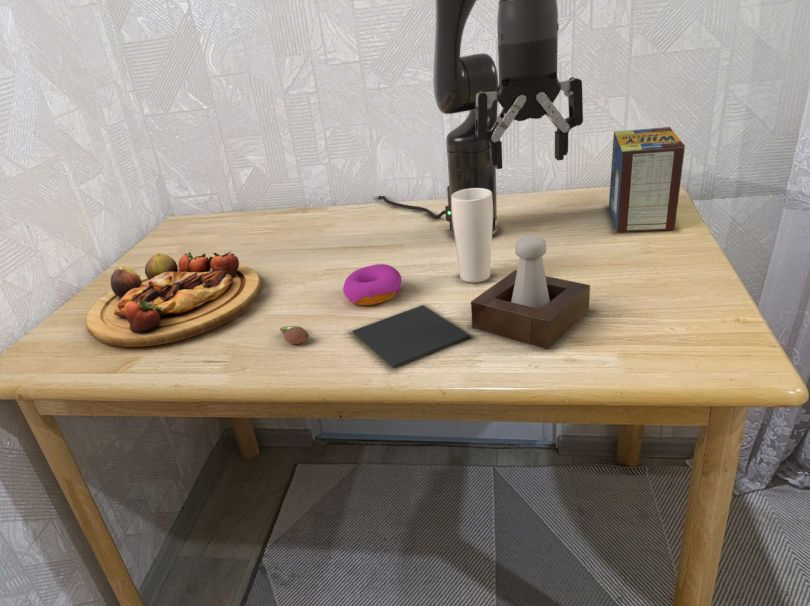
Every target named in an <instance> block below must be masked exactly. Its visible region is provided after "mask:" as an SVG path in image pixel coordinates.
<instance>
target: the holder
mask: <svg viewBox="0 0 810 606" xmlns="http://www.w3.org/2000/svg"><path fill="white" fill-rule="evenodd" d="M516 274H517V269H515V270H513V271H512V272H510V273H508V274H507V275H506V276H504V277H503V278H502V279H500V280H499V281H498V282H496V283H494V284H493V285H492V286H490V287H489V288H488V289H486V290H484V291H483V292H482V293H481V294H479V295H478V296H477V297H475V298H474V299H472V300H471V301H470V310H471V311H470V312H471V314H470V315H471V328H472V329H474V330H479V331H482V332H486V333H489V334H493V335H496V336H499V337H503V338H506V339H511V340H513V341H518V342H521V343H524V344H528V345H530V346H531V345H532V346H535V347H539V348H542V349H545V350H549V348H551V347H552V346H553V345H554V344H555V343H556V342H558V340H560V339H561V338H562V337H563V336H564V335H565V334H566V333H567V332H568V331H570V330H571V329H572V328H573V327H574V326H575V325H576V324H577V323H578V322H580V321H581V320H582V319H583V318H584V317H585V316H586V315H587V314H588V313H589V311H590V296H591V295H590V294H591V284H587V283H583V282H578V281H577V282H576V281H574V280H573V281H572V280H568V279H563V278H557V277H552V276H548V275H545V277H546V283H547V289H548V295H549V300H550V302H549V303H548V304H547V305H546V306H545V307H543V308H542V309H537V308H533V307H529V306H525V305H520V304H516V303H512V302H511V300H512V295H513V290H514V285H515V280H516Z"/></svg>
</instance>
